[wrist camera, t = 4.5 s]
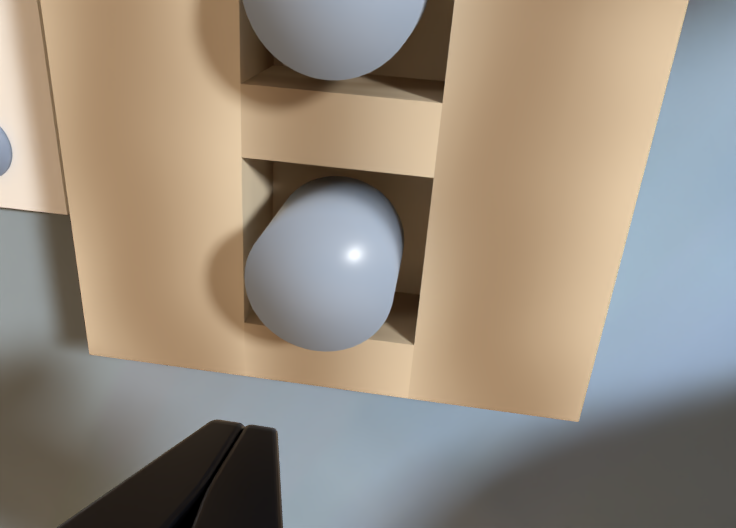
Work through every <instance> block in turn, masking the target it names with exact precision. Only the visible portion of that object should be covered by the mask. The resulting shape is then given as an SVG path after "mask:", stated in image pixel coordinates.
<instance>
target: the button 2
mask: <svg viewBox="0 0 736 528" xmlns="http://www.w3.org/2000/svg"><path fill="white" fill-rule="evenodd" d="M403 249H404V230H403V226H402V222H401V220H400V217H399V215H398V213H397V211H396V209H395V208H394V206H393V205H392V203H391V202H390V201H389V200H388V199H387V198H386V197H385V196H384V195H383V194H382V193H381V192H380V191H379V190H377V189H376V188H374V187H373V186H371V185H369V184H367V183H365V182H363V181H361V180H358V179H354V178H350V177H345V176H327V177H322V178H317V179H315V180H312V181H309V182H307V183H306V184H304V185H302V186H301V187H299V188H298V189H297V190H295V191H294V192H293V193H292V194H291V195H290V196H289V198H288V199H287V200H286V202H285V203H284V204H283V206H282V207H281V208H280V210H279V211H278V213H277V214H276V215H275V217H274V218H273V219H272V221H271V222H270V223H269V225H268V226H267V228H266V229H265V230H264V232H263V233H262V234H261V236H260V237H259V238H258V240H257V241H256V243H255V244H254V245H253V247H252V249H251V251H250V253H249V256H248V258H247V261H246V266H245V276H244V279H245V288H246V293H247V296H248V299H249V302H250V304H251V306H252V308H253V310H254V312H255V313H256V315H257V316H258V318H259V319H260V320H261V321H262V322H263V324H264V325H265V326H266V327H267V328H268V329H269V330H271V331H272V332H273V333H274V334H276V335H277V336H278V337H280V338H281V339H283V340H285V341H287V342H288V343H291V344H293V345H295V346H298V347H301V348H304V349H309V350H314V351H324V352H327V351H339V350H344V349H348V348H351V347H354V346H356V345H359V344H361V343H362V342H364V341H366V340H368V339H369V338H370V337H371V336H373V335H374V334H375V333H376V332H377V331H378V330H379V329H380V328H381V326H382V325H383V324H384V322H385V321H386V319H387V317H388V315H389V313H390V310H391V307H392V303H393V298H394V293H395V288H396V283H397V279H398V274H399V269H400V264H401V259H402V255H403Z"/></svg>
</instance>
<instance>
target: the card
mask: <svg viewBox="0 0 736 528" xmlns="http://www.w3.org/2000/svg"><path fill="white" fill-rule="evenodd" d="M0 207H4V208H13V209H21V210H30V211H38V212H47V213H55V214H64V215H68V214H69V213H70V211H69V204H68V196H67V189H66V182H65V175H64V168H63V160H62V153H61V146H60V139H59V132H58V124H57V117H56V110H55V103H54V96H53V88H52V81H51V74H50V67H49V60H48V52H47V45H46V38H45V31H44V24H43V16H42V9H41V2H40V0H0Z"/></svg>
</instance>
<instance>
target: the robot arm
mask: <svg viewBox="0 0 736 528" xmlns="http://www.w3.org/2000/svg"><path fill="white" fill-rule="evenodd" d="M57 528H283V518H282V500H281V483H280V465H279V448H278V433H277V431H276V429H274V428H270V427H264V426H257V425H248V426H246V427H245V426H244V425H243V424H241V423H237V422H231V421H224V420H213V421H210V422H209V423H207V424H206V425H204V426H203V427H201V428H200V429H199V430H197V431H196V432H194V433H193V434H191V435H190V436H188V437H187V438H186V439H184V440H183V441H181V442H180V443H178V444H177V445H175V446H174V447H173V448H171V449H170V450H168V451H167V452H165V453H164V454H162V455H161V456H160V457H158V458H157V459H155V460H154V461H152V462H151V463H149V464H148V465H147V466H145V467H144V468H142V469H141V470H139V471H138V472H136V473H135V474H134V475H132V476H131V477H129V478H128V479H126V480H125V481H123V482H122V483H121V484H119V485H118V486H116V487H115V488H113V489H112V490H110V491H109V492H107V493H106V494H105V495H103V496H102V497H100V498H99V499H97V500H96V501H94V502H93V503H92V504H90V505H89V506H87V507H86V508H84V509H83V510H81V511H80V512H79V513H77V514H76V515H74V516H73V517H71V518H70V519H68V520H67V521H66V522H64V523H63V524H61V525H60V526H58V527H57Z"/></svg>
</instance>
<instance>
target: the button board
mask: <svg viewBox="0 0 736 528" xmlns="http://www.w3.org/2000/svg"><path fill="white" fill-rule="evenodd" d="M40 2H41V9H42V16H43V24H44V31H45V38H46V45H47V52H48V60H49V67H50V74H51V81H52V88H53V96H54V103H55V110H56V117H57V124H58V132H59V139H60V146H61V153H62V160H63V168H64V175H65V182H66V189H67V196H68V204H69V211H70V218H71V225H72V232H73V240H74V247H75V254H76V261H77V268H78V276H79V283H80V290H81V297H82V304H83V312H84V319H85V326H86V333H87V340H88V348H89V354H90V355H97V356H105V357H112V358H119V359H126V360H134V361H141V362H148V363H155V364H163V365H170V366H177V367H184V368H192V369H199V370H206V371H213V372H221V373H228V374H235V375H242V376H250V377H257V378H264V379H271V380H279V381H286V382H293V383H300V384H308V385H315V386H322V387H329V388H337V389H344V390H351V391H358V392H366V393H373V394H380V395H387V396H395V397H402V398H409V399H416V400H424V401H431V402H438V403H445V404H453V405H460V406H467V407H474V408H482V409H489V410H496V411H503V412H511V413H518V414H525V415H532V416H540V417H547V418H554V419H561V420H569V421H576V422H579V418H580V415H581V411H582V407H583V403H584V399H585V395H586V392H587V388H588V384H589V380H590V376H591V373H592V369H593V365H594V361H595V357H596V353H597V350H598V346H599V342H600V338H601V334H602V331H603V327H604V323H605V319H606V315H607V311H608V308H609V304H610V300H611V296H612V292H613V288H614V285H615V281H616V277H617V273H618V269H619V266H620V262H621V258H622V254H623V250H624V246H625V243H626V239H627V235H628V231H629V227H630V224H631V220H632V216H633V212H634V208H635V204H636V201H637V197H638V193H639V189H640V185H641V182H642V178H643V174H644V170H645V166H646V162H647V159H648V155H649V151H650V147H651V143H652V140H653V136H654V132H655V128H656V124H657V120H658V117H659V113H660V109H661V105H662V101H663V97H664V94H665V90H666V86H667V82H668V78H669V75H670V71H671V67H672V63H673V59H674V55H675V52H676V48H677V44H678V40H679V36H680V33H681V29H682V25H683V21H684V17H685V13H686V10H687V6H688V2H689V0H428V1H427V5H426V8H425V10H424V13H423V15H422V17H421V19H420V21H419V22H418V24H417V26H416V27H415V29H414V30H413V32H412V33H411V35H410V36H409V37H408V39H407V40H406V42H405V43H404V44H403V45H402V47H401V48H400V49H399V51H398V52H397V53H396V54H395V55H394V56H393V57H392V58H391V59H390V60H388V61H387V62H386V63H384V64H383V65H382V66H380V67H379V68H377V69H375V70H373V71H372V72H370V73H367V74H365V75H362V76H359V77H356V78H352V79H346V80H323V79H317V78H313V77H309V76H306V75H303V74H301V73H299V72H297V71H294V70H293V69H291V68H289V67H288V66H286V65H285V64H283V63H282V62H281V61H279V60H278V59H277V58H276V57H274V56H273V55H272V54H271V52H270V51H269V50H268V49H267V48H266V47H265V46H264V45H263V43H262V42H261V41H260V39H259V38H258V36H257V35H256V33H255V31H254V30H253V28H252V26H251V24H250V21H249V19H248V17H247V14H246V11H245V8H244V5H243V0H40ZM327 176H345V177H350V178H354V179H358V180H361V181H363V182H365V183H367V184H369V185H371V186H373V187H374V188H376V189H377V190H379V191H380V192H381V193H382V194H383V195H384V196H385V197H386V198H387V199H388V200H389V201H390V202H391V203H392V205H393V206H394V208H395V209H396V211H397V213H398V215H399V217H400V220H401V222H402V226H403V230H404V249H403V255H402V259H401V264H400V269H399V274H398V279H397V283H396V288H395V293H394V298H393V303H392V307H391V310H390V313H389V315H388V317H387V319H386V321H385V322H384V324H383V325H382V326H381V328H380V329H379V330H378V331H377V332H376V333H375V334H374V335H373V336H371V337H370V338H369V339H368V340H366V341H364V342H362V343H361V344H359V345H356V346H354V347H351V348H348V349H344V350H339V351H327V352H324V351H314V350H309V349H304V348H301V347H298V346H295V345H293V344H291V343H288V342H287V341H285V340H283V339H281V338H280V337H278V336H277V335H276V334H274V333H273V332H272V331H271V330H269V329H268V328H267V327H266V326H265V325H264V324H263V322H262V321H261V320H260V319H259V318H258V316H257V315H256V313H255V312H254V310H253V308H252V306H251V304H250V302H249V299H248V296H247V293H246V288H245V279H244V276H245V266H246V261H247V258H248V256H249V253H250V251H251V249H252V247H253V245H254V244H255V243H256V241H257V240H258V238H259V237H260V236H261V234H262V233H263V232H264V230H265V229H266V228H267V226H268V225H269V223H270V222H271V221H272V219H273V218H274V217H275V215H276V214H277V213H278V211H279V210H280V208H281V207H282V206H283V204H284V203H285V202H286V200H287V199H288V198H289V196H290V195H291V194H292V193H293V192H294V191H295V190H297V189H298V188H299V187H301V186H302V185H304V184H306V183H307V182H309V181H312V180H315V179H317V178H322V177H327Z"/></svg>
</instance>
